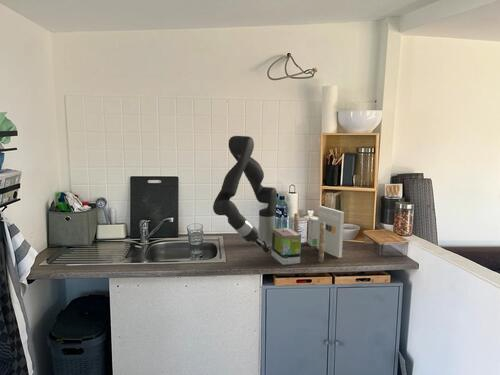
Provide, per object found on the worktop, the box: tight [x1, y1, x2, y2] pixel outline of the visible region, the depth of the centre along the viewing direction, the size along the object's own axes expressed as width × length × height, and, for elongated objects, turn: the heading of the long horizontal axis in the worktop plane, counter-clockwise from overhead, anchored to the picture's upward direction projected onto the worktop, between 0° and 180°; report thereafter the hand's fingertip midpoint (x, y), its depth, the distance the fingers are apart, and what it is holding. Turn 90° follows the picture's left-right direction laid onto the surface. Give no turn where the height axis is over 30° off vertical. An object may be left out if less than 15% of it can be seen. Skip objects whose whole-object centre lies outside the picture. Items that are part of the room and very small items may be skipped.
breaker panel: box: [316, 205, 345, 259], centre depth 199 cm, size 18×3×24 cm, turn 28°
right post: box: [318, 222, 325, 263], centre depth 185 cm, size 2×2×20 cm
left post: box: [293, 212, 300, 233], centre depth 204 cm, size 2×2×20 cm
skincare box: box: [307, 216, 318, 247], centre depth 214 cm, size 8×7×16 cm
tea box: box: [271, 227, 302, 265], centre depth 188 cm, size 15×10×15 cm, turn 18°
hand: (267, 251), depth 183 cm, fingers closed
